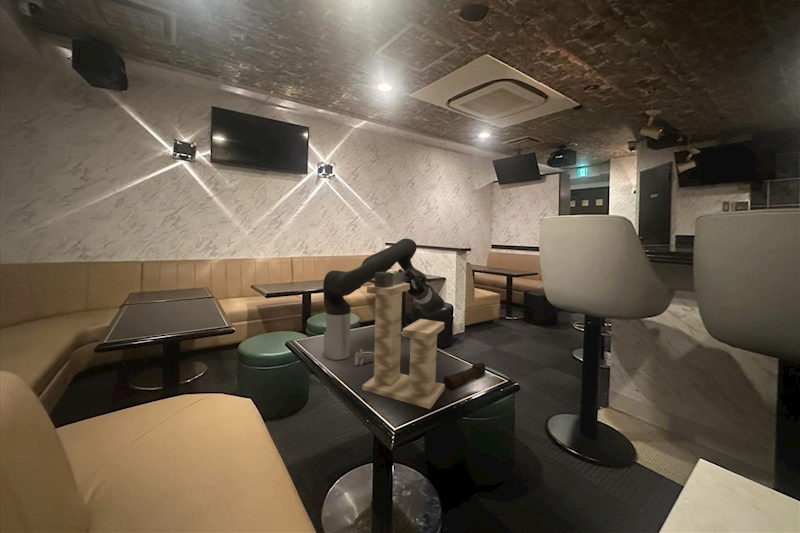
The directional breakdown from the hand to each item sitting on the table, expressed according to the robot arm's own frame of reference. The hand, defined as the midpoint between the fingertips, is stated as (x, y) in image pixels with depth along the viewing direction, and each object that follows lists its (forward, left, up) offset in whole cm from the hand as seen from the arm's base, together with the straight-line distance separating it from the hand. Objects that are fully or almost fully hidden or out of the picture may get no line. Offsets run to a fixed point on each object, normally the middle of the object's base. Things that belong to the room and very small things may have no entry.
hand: (403, 271), depth 103 cm
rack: (+6, -10, -35) cm, 37 cm away
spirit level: (0, -4, -3) cm, 5 cm away
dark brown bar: (+21, +6, -36) cm, 42 cm away
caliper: (-12, +6, -36) cm, 38 cm away
